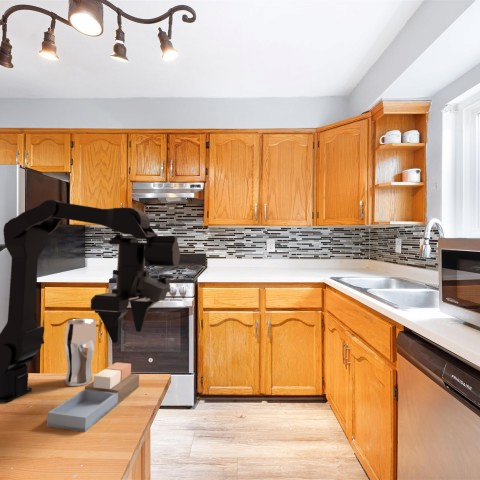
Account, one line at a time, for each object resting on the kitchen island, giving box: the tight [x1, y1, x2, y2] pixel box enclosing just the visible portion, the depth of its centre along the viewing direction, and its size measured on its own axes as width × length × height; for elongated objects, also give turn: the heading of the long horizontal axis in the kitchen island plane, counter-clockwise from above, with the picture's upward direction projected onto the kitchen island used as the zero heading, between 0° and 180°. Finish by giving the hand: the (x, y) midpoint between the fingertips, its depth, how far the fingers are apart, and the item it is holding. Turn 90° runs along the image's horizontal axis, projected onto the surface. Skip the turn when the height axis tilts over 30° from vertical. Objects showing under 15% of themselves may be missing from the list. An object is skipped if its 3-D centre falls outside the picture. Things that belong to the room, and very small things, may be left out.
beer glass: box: [64, 317, 97, 387], centre depth 78 cm, size 7×7×15 cm
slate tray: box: [46, 388, 119, 433], centre depth 62 cm, size 8×10×2 cm
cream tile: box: [93, 368, 121, 389], centre depth 69 cm, size 4×4×2 cm
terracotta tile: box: [105, 361, 132, 381], centre depth 73 cm, size 4×4×2 cm
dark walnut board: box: [84, 373, 140, 405], centre depth 71 cm, size 8×9×3 cm
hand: (127, 336), depth 68 cm, fingers open, 9 cm apart
